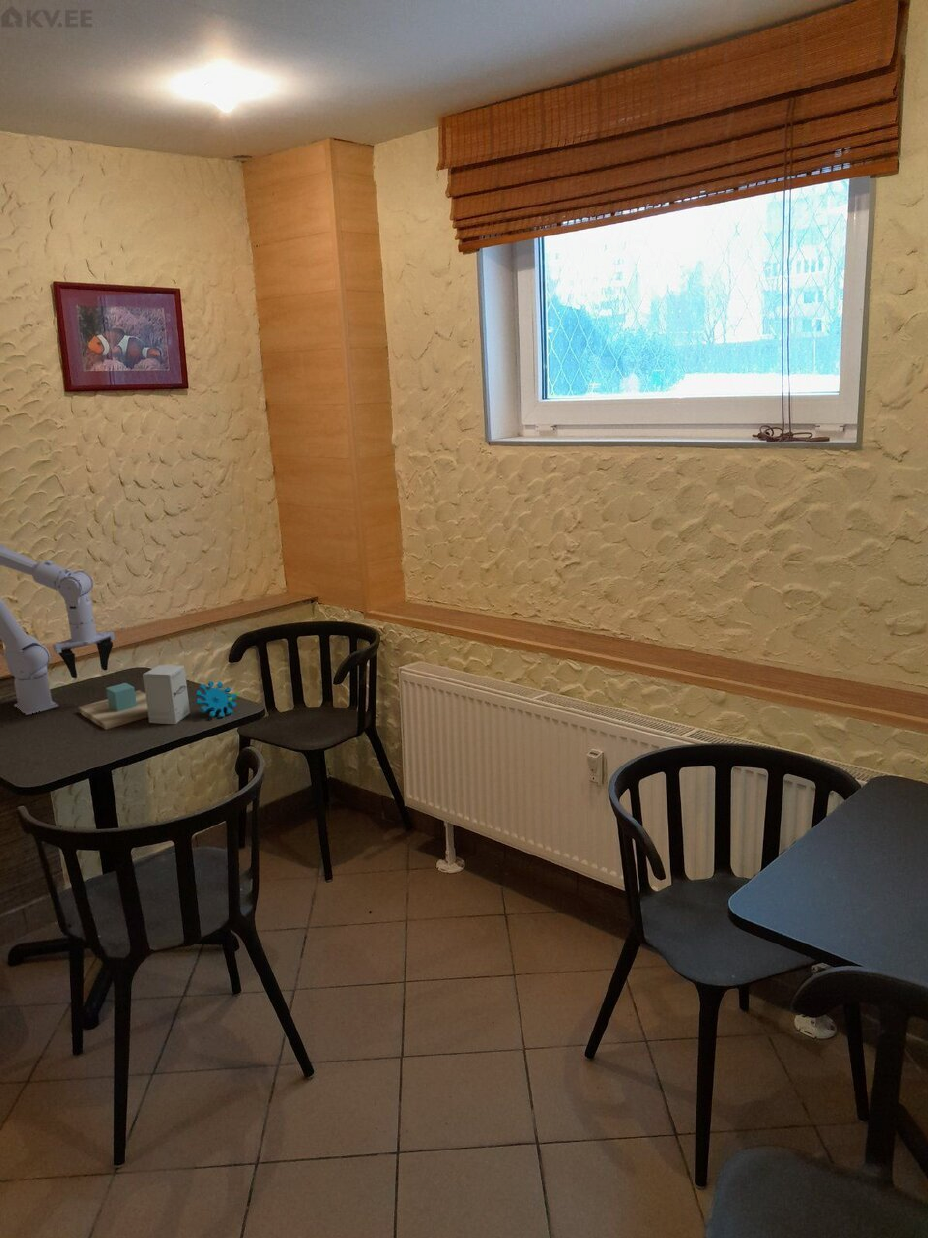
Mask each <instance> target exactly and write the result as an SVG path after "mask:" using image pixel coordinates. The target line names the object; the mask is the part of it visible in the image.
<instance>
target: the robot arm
mask: <svg viewBox="0 0 928 1238" xmlns="http://www.w3.org/2000/svg"><path fill="white" fill-rule="evenodd" d="M0 566H3V567H5V568H9V569H12V570H16V571H18V572H21V573H24V574H27V575H30V576H31V577H32V579H33V581H34V582H35V583H36V584H40V585H42V586H44V587H48V588H49V589H51V590H54V591H56V592H58V593H59V595H60V596H61V597H62V598H63V600H64V604H65V606H66V612H67V619H68V626H69V631H70V637H71V638H68V639H65V640H64V641H60V642H58V643H53V644H52V646H53V652H54V653H55V654H58V655H59V657H60V658H61V660H63V663H64V664H65V665H66V666H67V669H68V671H69V674H70V676H71V678H73V679H77V678H78V673H77V667H76V654H75V653H74V652H73V649H74V650H75V649H78V648H82V647H86V646H91V645H94V644H95V645H96V647H97V650H98V654H99V656H98V657H99V663H100V667H101V670H103V671H107V670H108V667H109V666H108V665H109V658H110V655H111V651H112V649H113V647H114V642H113V641H115V640H116V637H115V636H116V635H115V632H114V631H112V630H110V631H104V632H98V633H97V631H96V626H95V619H94V614H93V607H92V605H93V604H92V601H91V600H92V598H91V593H90V592H91V591H92V589H93V584H94V582H93V579H92V577H91V576H90V574H88V573H87V572H85V571H84V570H76V571H73V570H72V569H71V568H65V567H63V566H60V565H57V564H55V561H53V560H50V559H48V560H41V561H40V562H37V561H35V560H33V559H31V558H29V557H27V556H25V555H22V554H21V553H18V552H16V551H14V550H11V549H10V548H8V547H6V546H5V545H4V543H0ZM0 640H1V642H2V644H3V646H4V651H3V655H2V656H3V659H4V660H5V661H6V662H5V663H6V664H7V669H8V671H9V673H10V674H11V675H12V677H14V689H15V694H16V701H17V703H14V704H13V707H15V708H16V707H17V708H19V709H20V710H21V711H20V710H19V709H18V710H19V711H20V712H22V713H23V714H24V713H25V714H24V715H26V716H29V715H32V713H33V714H36V712H37V713H40V712H45V711H48V710H51V709H54V708H58V707H59V704H58V703H57V702H55V701H53V698H52V693H51V687H50V681H49V674H48V665H49V664H50V662H51V659H52V657H51V653H50V651H49V649H48V648H47V647H46V646H44V645H43V644H41V643H40V642H39V641H38V639H37V638H36V637H34V636H31V635H28V634H26V632H25V631H24V630H23V628H22V627H21V625H20V623H19V622H18V621H17V619H16V618H15V616H14V615H13V613H12V612H11V610H10V608H8V606H7V605H6V603H5V602H4V600H3V599H2V598H1V596H0ZM17 708H16V709H17ZM39 711H40V712H39Z"/></svg>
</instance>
